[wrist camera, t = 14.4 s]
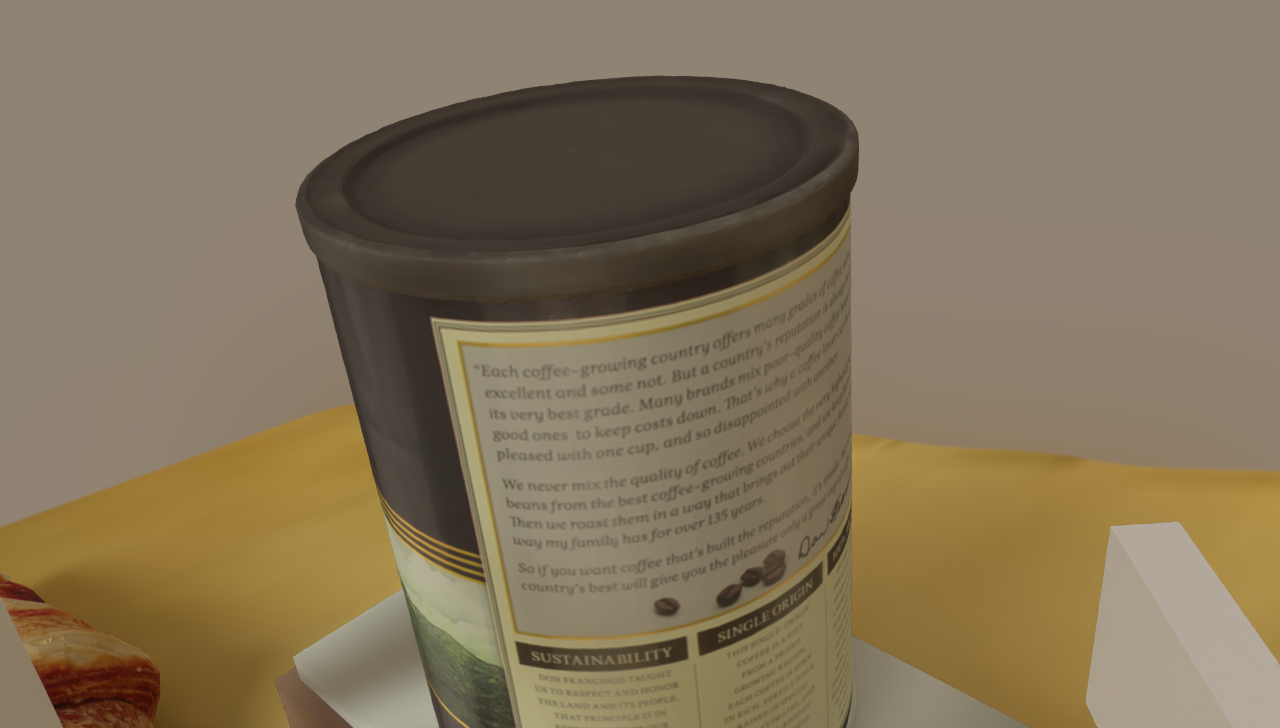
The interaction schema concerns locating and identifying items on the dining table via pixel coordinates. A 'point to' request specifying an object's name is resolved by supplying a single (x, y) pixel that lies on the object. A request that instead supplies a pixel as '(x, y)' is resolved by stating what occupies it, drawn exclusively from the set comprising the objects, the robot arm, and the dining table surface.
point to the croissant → (83, 665)
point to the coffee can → (608, 396)
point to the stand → (406, 722)
